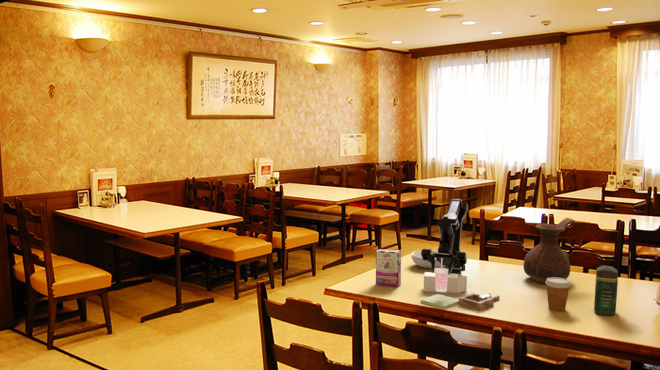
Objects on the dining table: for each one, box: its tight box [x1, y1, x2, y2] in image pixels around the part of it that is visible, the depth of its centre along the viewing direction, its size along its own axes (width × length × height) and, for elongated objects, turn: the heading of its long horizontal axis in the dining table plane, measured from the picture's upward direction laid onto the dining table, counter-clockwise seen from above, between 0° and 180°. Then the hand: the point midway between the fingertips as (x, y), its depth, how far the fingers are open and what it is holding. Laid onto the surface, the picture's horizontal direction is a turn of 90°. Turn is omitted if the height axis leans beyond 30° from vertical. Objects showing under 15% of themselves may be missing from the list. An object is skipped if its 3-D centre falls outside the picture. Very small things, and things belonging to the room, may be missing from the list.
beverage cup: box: [434, 258, 449, 293], centre depth 233 cm, size 6×6×14 cm
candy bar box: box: [375, 248, 402, 288], centre depth 260 cm, size 11×5×16 cm, turn 68°
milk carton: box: [423, 271, 468, 294], centre depth 251 cm, size 7×7×19 cm
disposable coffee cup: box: [544, 277, 571, 312], centre depth 225 cm, size 10×10×12 cm
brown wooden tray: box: [458, 292, 500, 311], centre depth 234 cm, size 19×10×3 cm, turn 132°
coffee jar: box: [593, 264, 619, 316], centre depth 221 cm, size 10×8×19 cm
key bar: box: [478, 293, 493, 302], centre depth 235 cm, size 6×3×2 cm, turn 133°
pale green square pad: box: [420, 293, 459, 310], centre depth 234 cm, size 12×12×1 cm
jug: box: [523, 217, 576, 284], centre depth 267 cm, size 22×22×30 cm
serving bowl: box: [410, 249, 445, 270], centre depth 294 cm, size 21×21×7 cm
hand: (440, 273), depth 232 cm, fingers closed on beverage cup, 6 cm apart
